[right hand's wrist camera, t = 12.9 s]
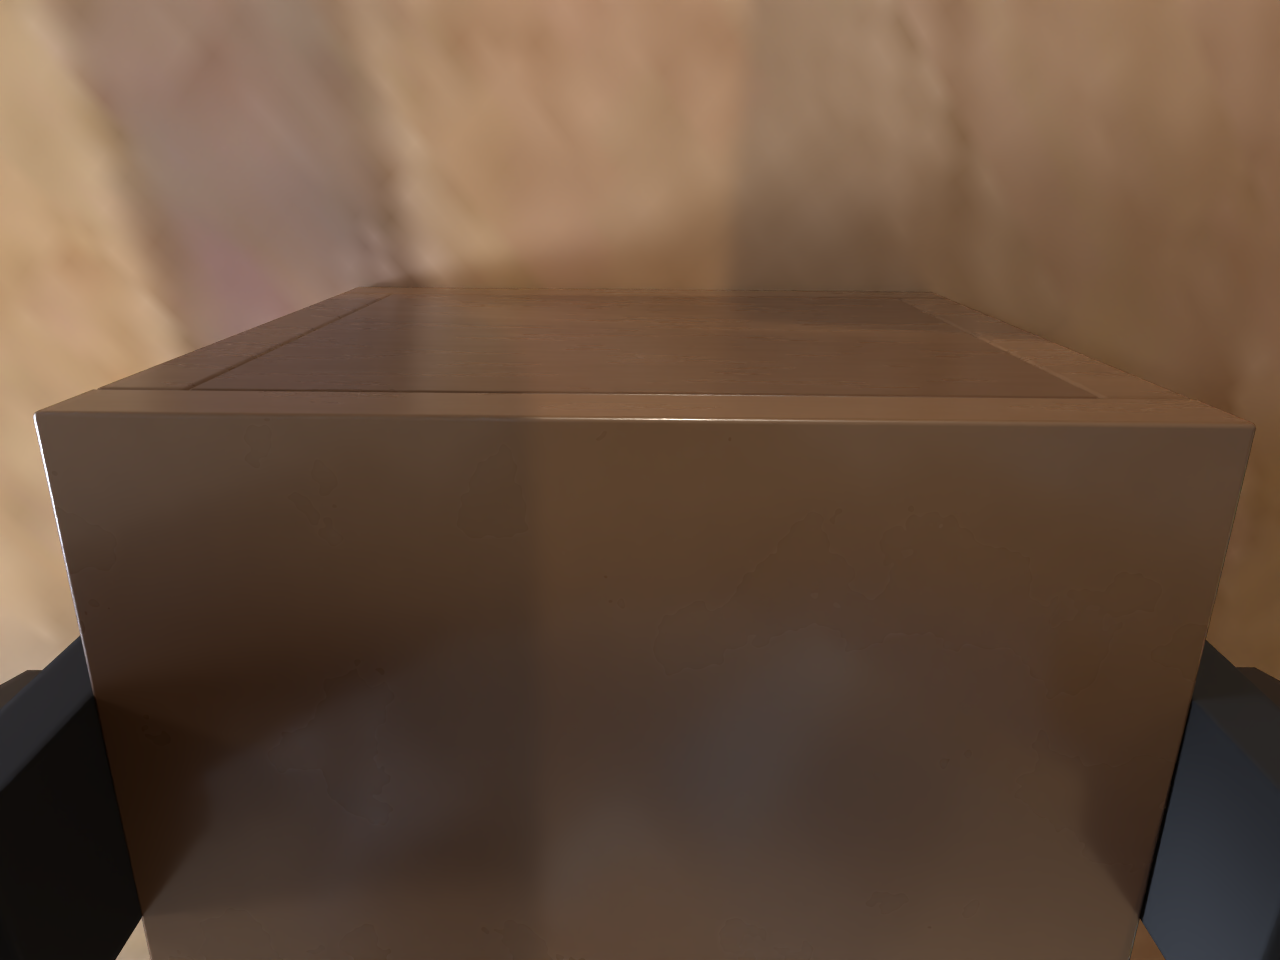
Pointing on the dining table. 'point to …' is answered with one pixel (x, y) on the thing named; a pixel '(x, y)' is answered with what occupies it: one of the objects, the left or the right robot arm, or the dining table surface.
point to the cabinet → (641, 627)
